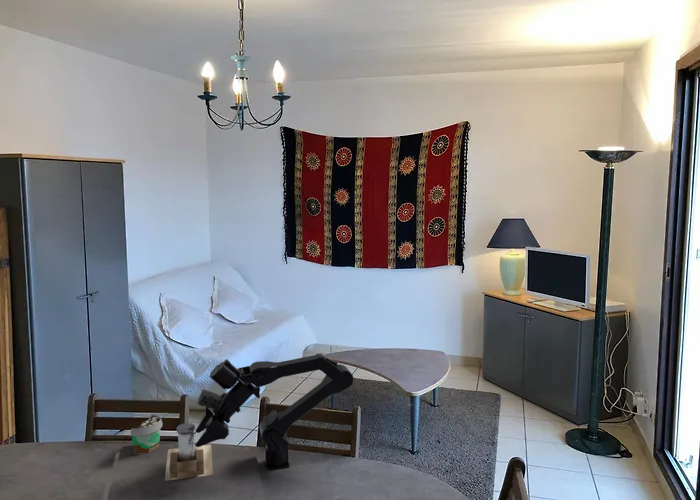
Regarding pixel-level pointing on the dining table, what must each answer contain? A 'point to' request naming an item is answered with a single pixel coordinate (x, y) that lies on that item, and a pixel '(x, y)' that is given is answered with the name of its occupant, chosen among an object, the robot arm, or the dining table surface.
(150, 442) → the food container
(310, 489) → the dining table surface
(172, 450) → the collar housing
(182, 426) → the silver tapered cylinder
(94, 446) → the dining table surface
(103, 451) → the dining table surface
